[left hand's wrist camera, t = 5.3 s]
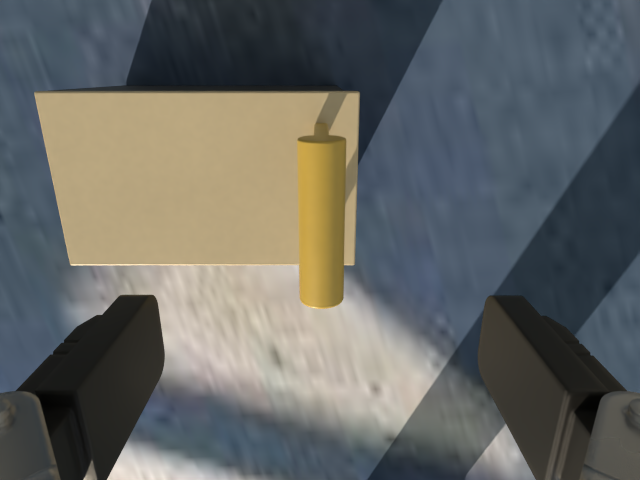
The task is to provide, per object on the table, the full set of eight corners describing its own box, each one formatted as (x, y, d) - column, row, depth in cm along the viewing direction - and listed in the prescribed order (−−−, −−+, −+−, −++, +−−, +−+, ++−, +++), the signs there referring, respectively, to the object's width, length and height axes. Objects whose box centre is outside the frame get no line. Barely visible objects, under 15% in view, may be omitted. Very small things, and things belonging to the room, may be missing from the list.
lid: (358, 90, 24) (378, 100, 16) (353, 258, 28) (368, 338, 20) (44, 90, 24) (-99, 100, 16) (78, 259, 28) (-26, 339, 20)
